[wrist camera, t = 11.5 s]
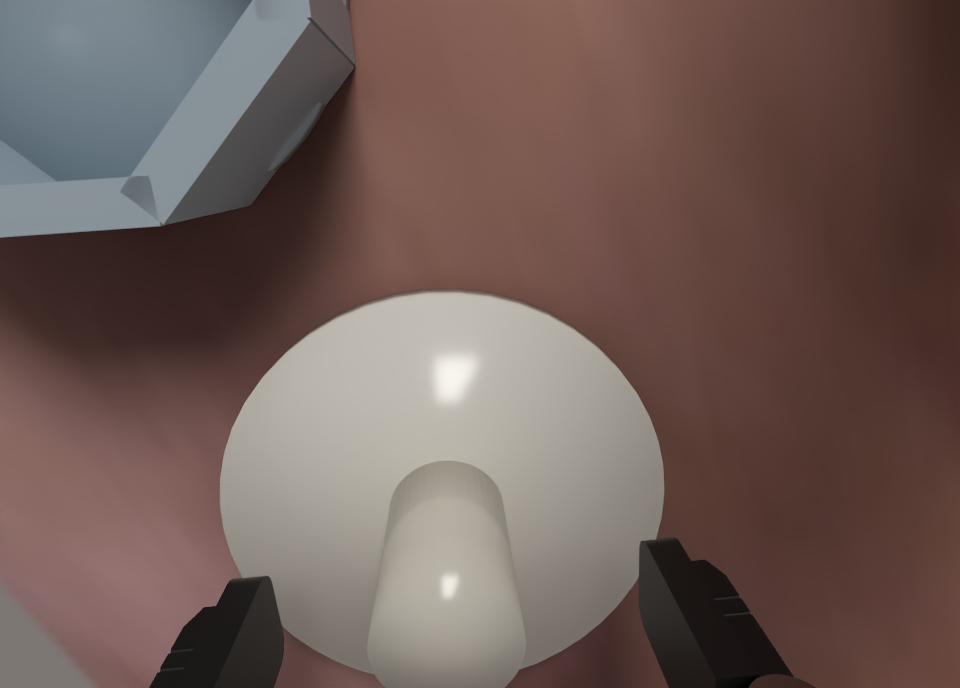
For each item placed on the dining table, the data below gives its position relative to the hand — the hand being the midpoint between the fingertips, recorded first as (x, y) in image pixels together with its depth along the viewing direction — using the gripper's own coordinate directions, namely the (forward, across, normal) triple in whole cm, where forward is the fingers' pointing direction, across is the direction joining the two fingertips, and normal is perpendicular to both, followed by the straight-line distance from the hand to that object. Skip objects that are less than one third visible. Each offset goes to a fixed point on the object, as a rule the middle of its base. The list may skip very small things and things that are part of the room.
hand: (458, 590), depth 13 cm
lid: (+4, 0, 0) cm, 4 cm away
